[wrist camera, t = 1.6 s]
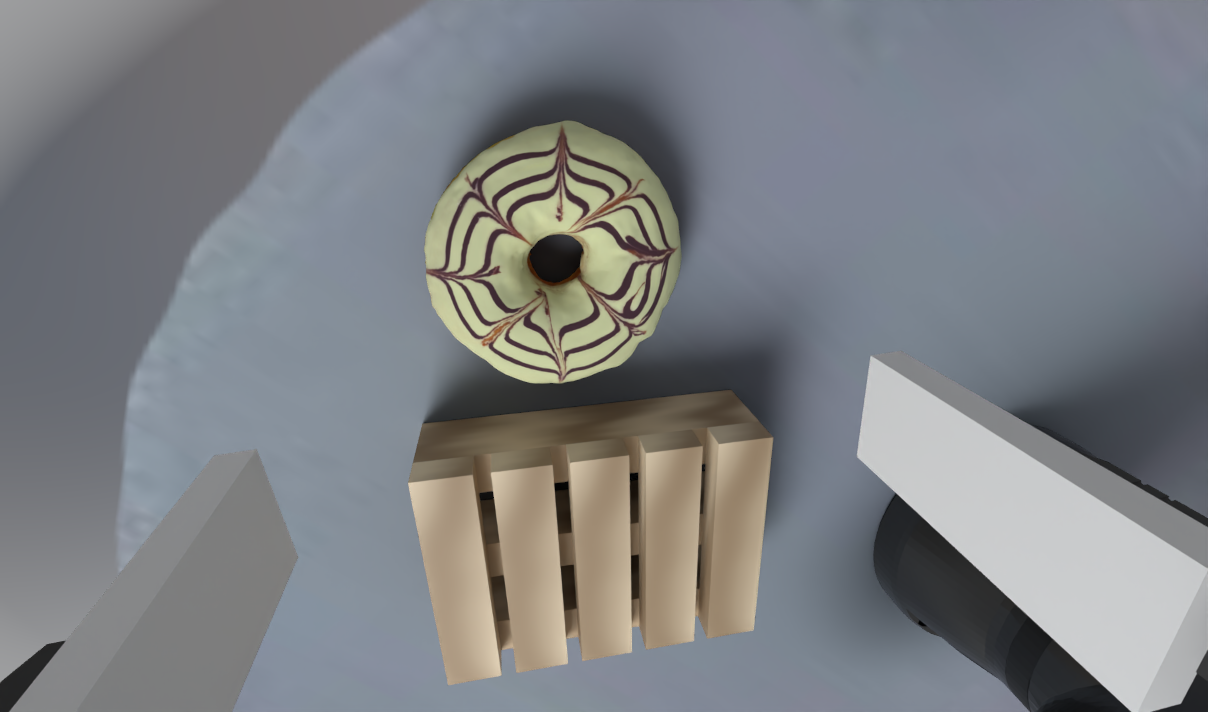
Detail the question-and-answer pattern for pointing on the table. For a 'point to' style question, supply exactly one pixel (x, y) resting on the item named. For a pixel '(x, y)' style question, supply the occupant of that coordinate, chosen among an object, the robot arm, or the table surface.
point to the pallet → (590, 528)
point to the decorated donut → (533, 211)
